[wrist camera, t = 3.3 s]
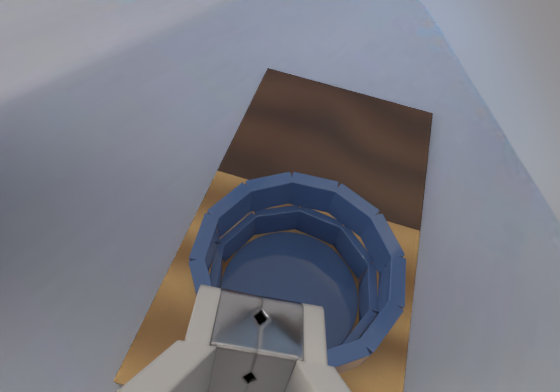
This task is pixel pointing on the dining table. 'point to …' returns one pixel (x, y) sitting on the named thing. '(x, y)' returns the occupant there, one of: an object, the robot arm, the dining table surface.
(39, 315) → the dining table surface
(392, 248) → the bowl
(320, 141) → the mat
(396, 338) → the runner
